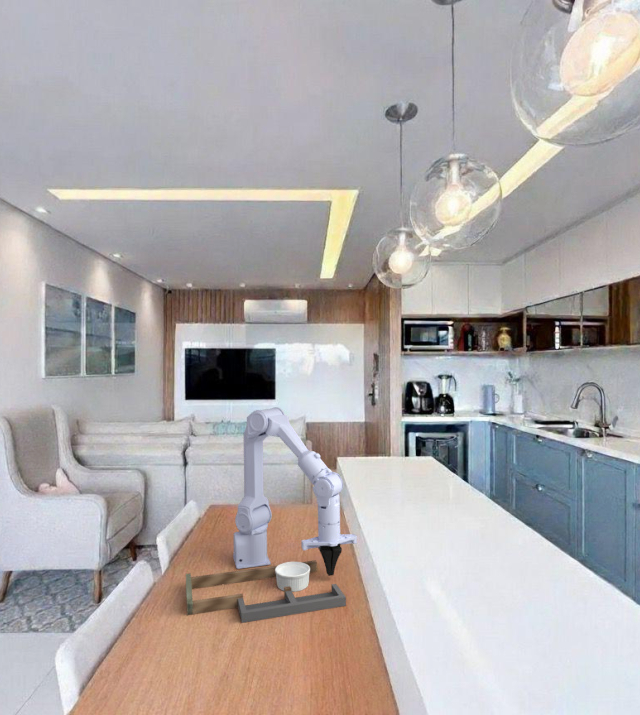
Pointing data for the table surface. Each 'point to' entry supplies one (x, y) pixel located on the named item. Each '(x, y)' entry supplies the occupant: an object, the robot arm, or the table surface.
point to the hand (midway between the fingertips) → (330, 574)
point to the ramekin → (292, 575)
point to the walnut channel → (227, 578)
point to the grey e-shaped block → (291, 605)
